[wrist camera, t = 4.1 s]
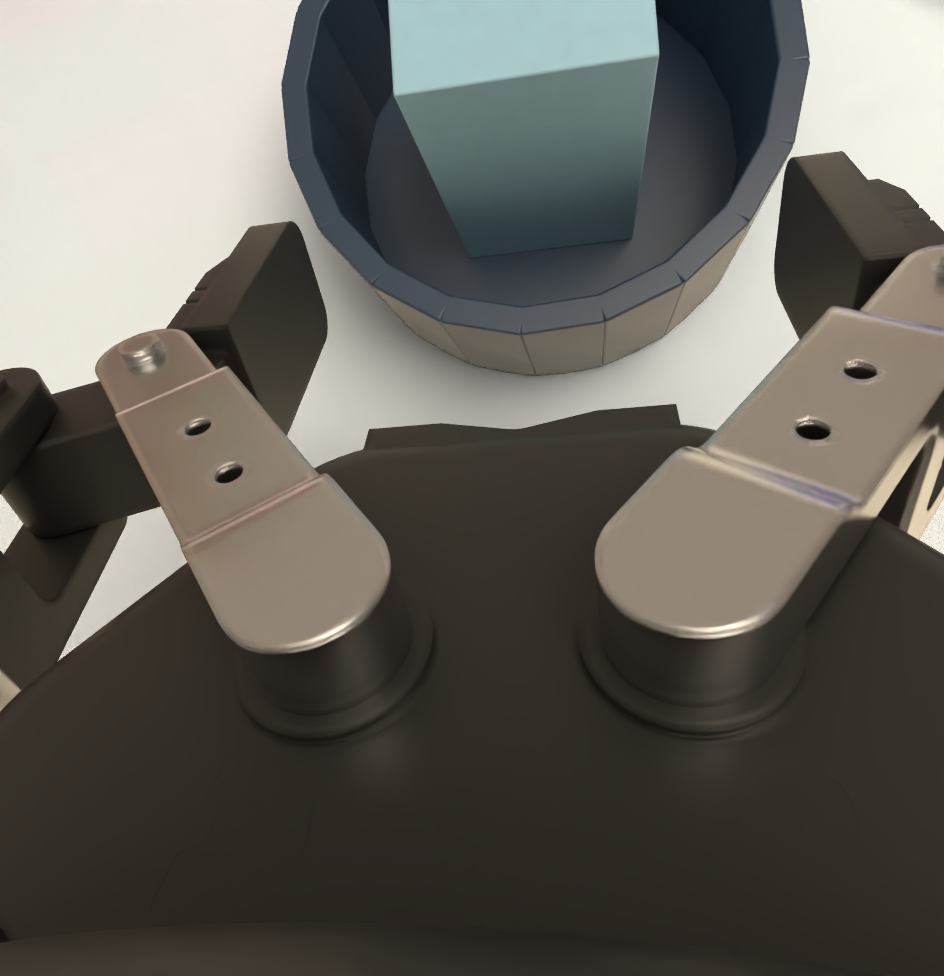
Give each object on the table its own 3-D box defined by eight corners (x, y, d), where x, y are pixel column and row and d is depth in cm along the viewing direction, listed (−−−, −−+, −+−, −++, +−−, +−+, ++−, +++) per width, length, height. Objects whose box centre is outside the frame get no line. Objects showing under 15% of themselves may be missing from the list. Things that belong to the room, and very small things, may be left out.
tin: (313, 339, 24) (238, 289, 19) (390, -40, 24) (337, -192, 19) (713, 407, 22) (750, 372, 17) (794, -8, 22) (854, -168, 17)
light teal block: (468, 258, 23) (392, 95, 14) (458, 102, 24) (378, -152, 15) (633, 239, 23) (659, 54, 14) (620, 77, 23) (639, -206, 14)
